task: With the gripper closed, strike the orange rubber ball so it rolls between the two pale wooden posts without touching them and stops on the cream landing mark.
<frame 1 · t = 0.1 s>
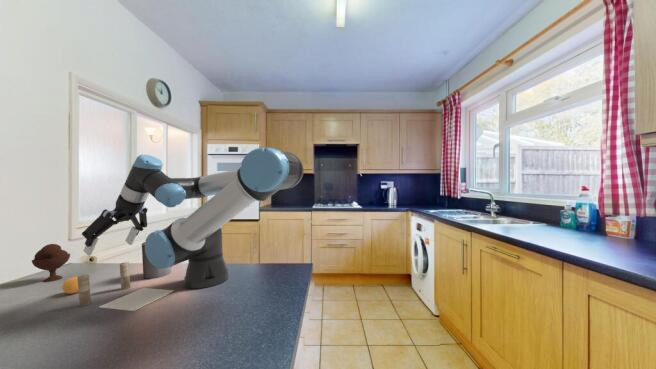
hand: (109, 247, 92), 15 cm above the countertop, tool tilted 35°, fingers open, 13 cm apart
ice cream bowl: (53, 280, 109), on the countertop
landing mark: (138, 298, 84), on the countertop
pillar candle: (157, 275, 108), on the countertop
left post: (85, 304, 82), on the countertop
right post: (125, 288, 94), on the countertop
ball: (73, 285, 93), on the countertop
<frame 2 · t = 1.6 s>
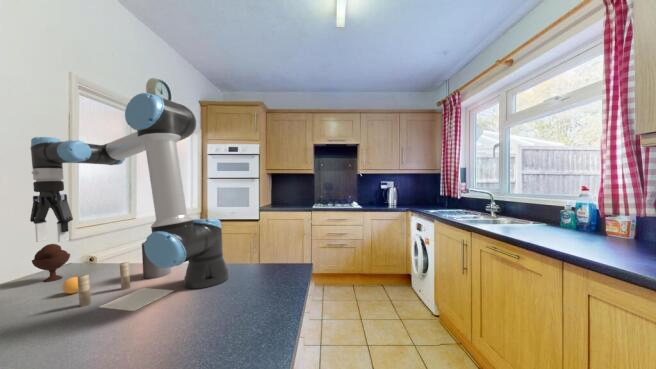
hand: (52, 241, 95), 18 cm above the countertop, tool pointing down, fingers open, 11 cm apart
nothing on the countertop moved.
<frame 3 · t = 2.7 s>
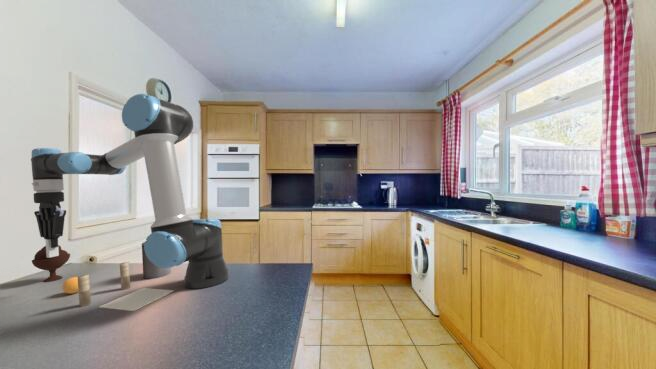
hand: (52, 256, 95), 13 cm above the countertop, tool pointing down, fingers closed
nothing on the countertop moved.
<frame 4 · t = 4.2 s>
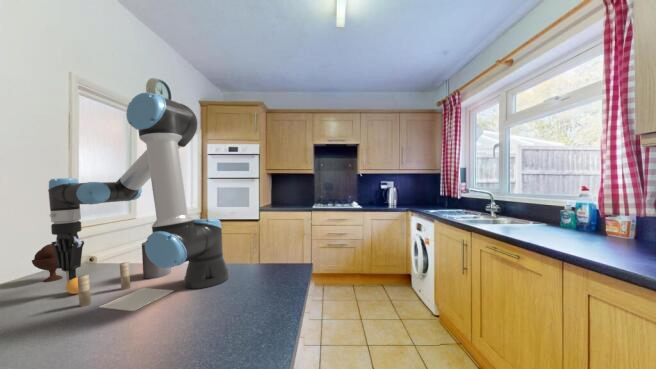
hand: (70, 288, 93), 2 cm above the countertop, tool pointing down, fingers closed
ball: (77, 285, 92), on the countertop
everything else where it was.
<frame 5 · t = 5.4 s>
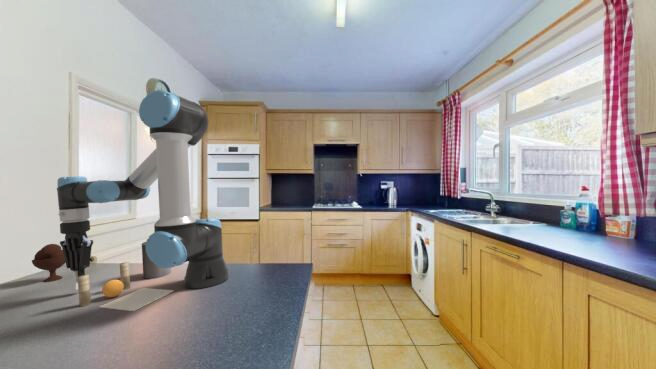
hand: (79, 288, 92), 2 cm above the countertop, tool pointing down, fingers closed
ball: (113, 288, 87), on the countertop
everything else where it was.
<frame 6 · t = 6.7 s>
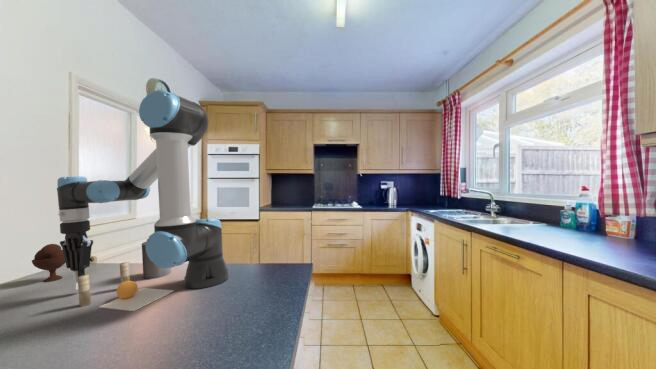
hand: (79, 288, 92), 2 cm above the countertop, tool pointing down, fingers closed
ball: (127, 289, 86), on the countertop
everything else where it was.
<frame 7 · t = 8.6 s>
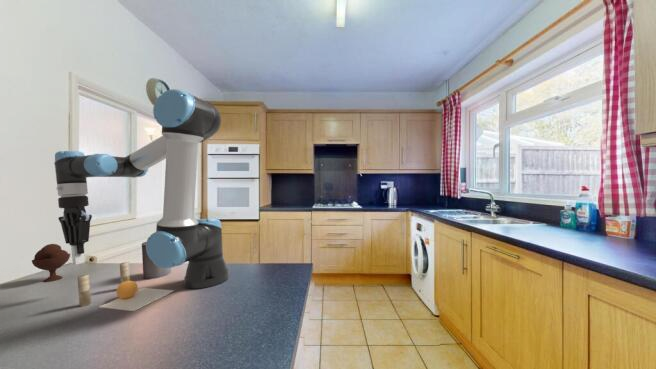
hand: (78, 263, 92), 11 cm above the countertop, tool pointing down, fingers closed
nothing on the countertop moved.
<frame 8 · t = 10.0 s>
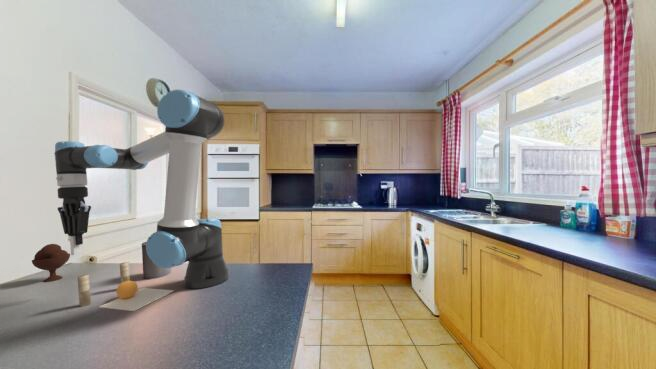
hand: (77, 253, 92), 14 cm above the countertop, tool pointing down, fingers closed
nothing on the countertop moved.
at the end: ball 4.6 cm from the landing mark (horizontally); ball never touched left post; ball never touched right post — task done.
